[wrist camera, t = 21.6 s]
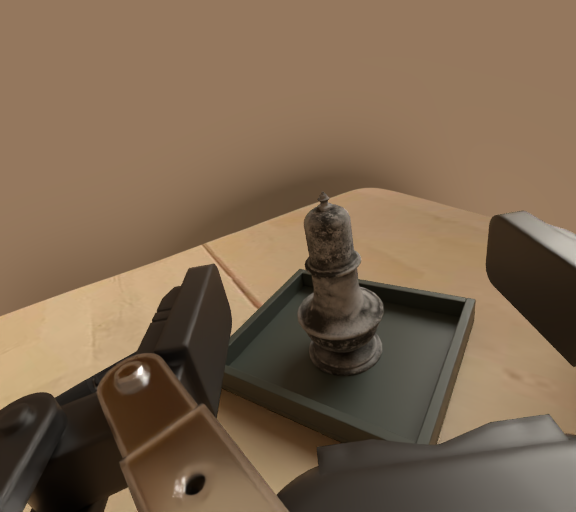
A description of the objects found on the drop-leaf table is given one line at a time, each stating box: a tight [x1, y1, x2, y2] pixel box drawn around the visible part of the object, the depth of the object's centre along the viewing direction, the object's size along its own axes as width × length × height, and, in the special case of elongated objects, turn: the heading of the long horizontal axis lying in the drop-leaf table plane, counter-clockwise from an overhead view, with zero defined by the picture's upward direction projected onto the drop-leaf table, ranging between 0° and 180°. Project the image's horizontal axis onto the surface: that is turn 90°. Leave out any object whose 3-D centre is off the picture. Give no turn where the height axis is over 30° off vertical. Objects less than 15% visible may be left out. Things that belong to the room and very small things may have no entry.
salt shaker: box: [297, 192, 384, 376], centre depth 24 cm, size 6×6×12 cm
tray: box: [222, 269, 475, 445], centre depth 26 cm, size 15×13×2 cm
